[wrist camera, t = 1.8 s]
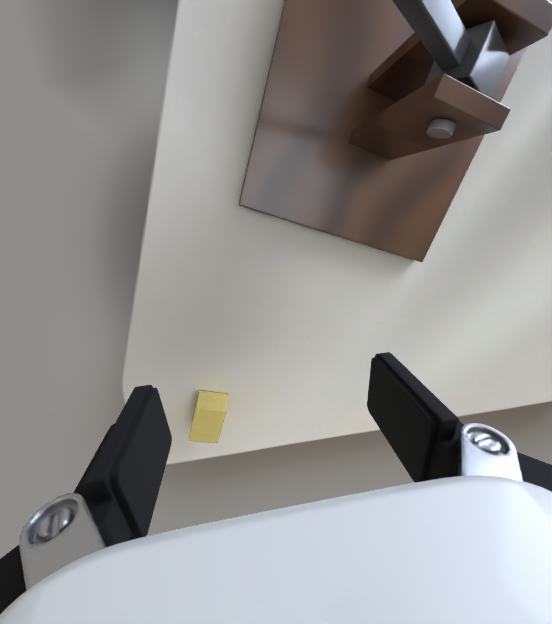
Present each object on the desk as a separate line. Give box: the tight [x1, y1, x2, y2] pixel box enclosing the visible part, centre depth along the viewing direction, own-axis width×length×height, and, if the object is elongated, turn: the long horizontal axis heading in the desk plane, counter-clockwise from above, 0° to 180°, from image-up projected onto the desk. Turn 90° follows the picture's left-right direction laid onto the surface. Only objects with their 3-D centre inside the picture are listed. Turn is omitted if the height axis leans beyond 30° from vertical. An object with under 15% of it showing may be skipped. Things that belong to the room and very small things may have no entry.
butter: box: [189, 390, 227, 443], centre depth 31 cm, size 5×3×3 cm
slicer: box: [239, 0, 552, 262], centre depth 18 cm, size 20×20×12 cm
